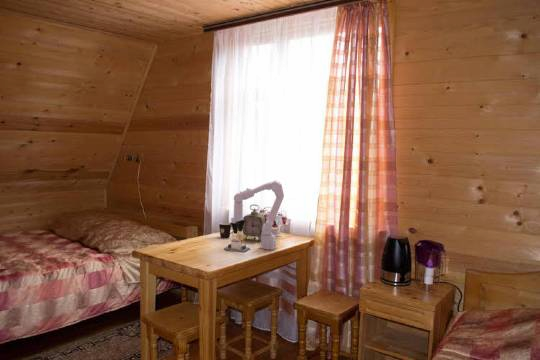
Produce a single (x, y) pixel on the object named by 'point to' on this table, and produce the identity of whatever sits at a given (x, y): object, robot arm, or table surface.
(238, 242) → the connector plug
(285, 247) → the table surface
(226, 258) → the table surface
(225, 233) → the coffee mug
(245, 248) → the board
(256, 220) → the tabletop clock
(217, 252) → the table surface
